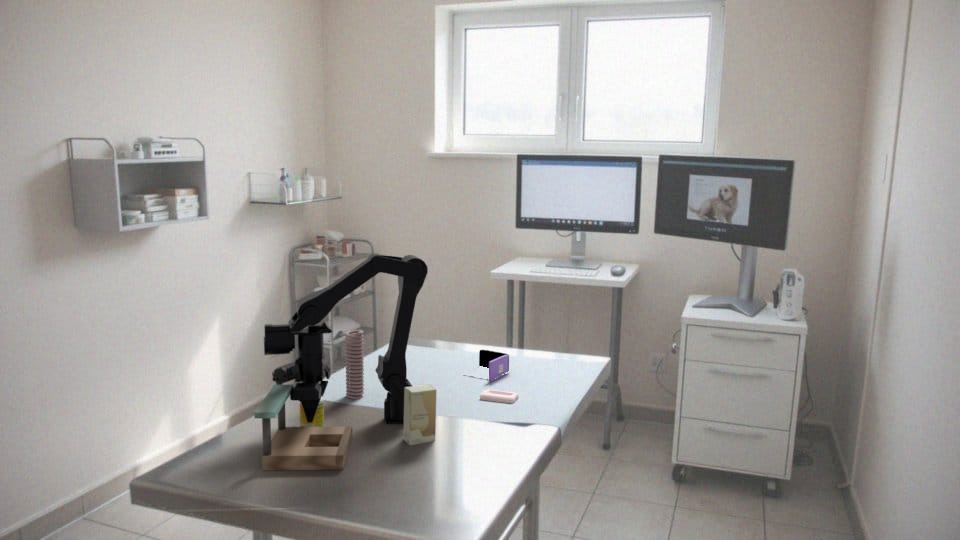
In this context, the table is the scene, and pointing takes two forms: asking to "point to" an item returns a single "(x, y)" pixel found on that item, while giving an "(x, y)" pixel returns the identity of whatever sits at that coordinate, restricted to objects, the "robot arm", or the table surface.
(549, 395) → the table surface
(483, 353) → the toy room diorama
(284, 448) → the socket plate
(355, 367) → the coil
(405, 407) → the skincare box
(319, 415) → the supplement bottle
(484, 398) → the soap bar
